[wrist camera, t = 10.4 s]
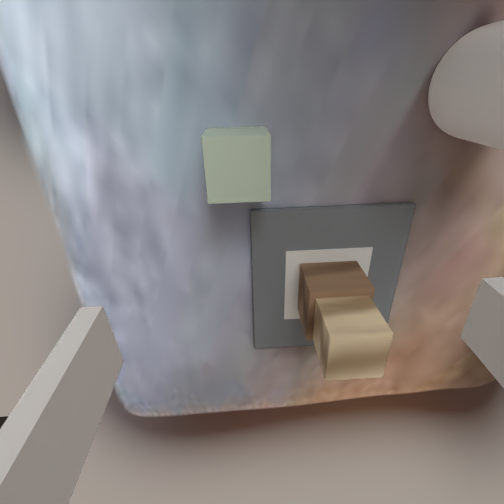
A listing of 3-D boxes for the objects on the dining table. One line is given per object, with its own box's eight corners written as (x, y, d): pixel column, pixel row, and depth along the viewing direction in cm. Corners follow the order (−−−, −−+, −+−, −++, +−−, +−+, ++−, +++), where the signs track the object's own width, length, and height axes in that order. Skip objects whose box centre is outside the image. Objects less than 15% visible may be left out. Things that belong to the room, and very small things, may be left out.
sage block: (206, 127, 27) (201, 137, 22) (265, 125, 27) (271, 135, 23) (211, 185, 29) (207, 203, 25) (265, 182, 29) (270, 201, 25)
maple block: (315, 298, 29) (330, 337, 25) (369, 295, 29) (393, 333, 25) (312, 338, 31) (325, 380, 27) (362, 335, 31) (382, 377, 27)
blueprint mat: (250, 209, 30) (250, 211, 30) (412, 202, 31) (416, 204, 30) (254, 344, 39) (254, 349, 39) (380, 337, 40) (383, 341, 39)
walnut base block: (299, 263, 33) (309, 291, 28) (356, 260, 33) (375, 288, 29) (297, 308, 36) (306, 340, 31) (349, 305, 36) (365, 337, 32)
